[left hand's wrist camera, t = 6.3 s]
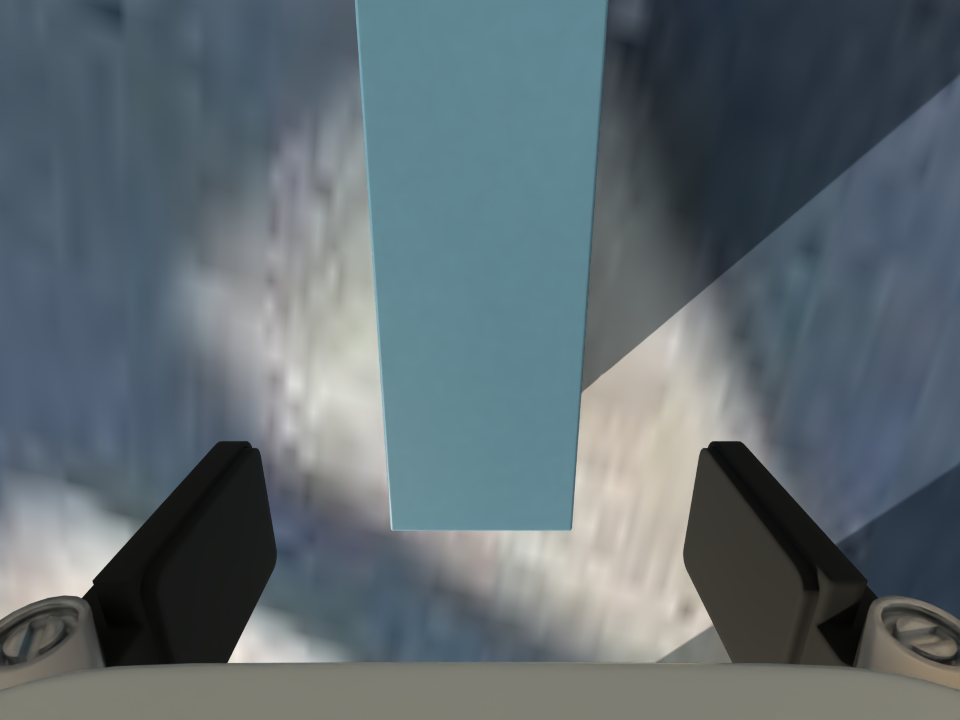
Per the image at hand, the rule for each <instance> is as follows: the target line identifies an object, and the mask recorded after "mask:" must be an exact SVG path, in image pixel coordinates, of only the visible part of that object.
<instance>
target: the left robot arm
mask: <svg viewBox="0 0 960 720" xmlns="http://www.w3.org/2000/svg"><path fill="white" fill-rule="evenodd" d="M276 558H277V550H276V544H275V538H274V532H273V526H272V520H271V514H270V508H269V502H268V496H267V490H266V484H265V478H264V472H263V466H262V461H261V455H260V452H259V450H258V449H257V448H252V446H251V444H250V443H249V442H248V441H221V442H218V443H217V444H216V445H215V446H214V447H213V448H212V449H211V450H210V451H209V452H208V454H207V455H206V456H205V457H204V458H203V459H202V460H201V461H200V462H199V464H198V465H197V466H196V467H195V468H194V469H193V470H192V471H191V472H190V474H189V475H188V476H187V477H186V478H185V479H184V480H183V481H182V482H181V483H180V485H179V486H178V487H177V488H176V489H175V490H174V491H173V492H172V493H171V495H170V496H169V497H168V498H167V499H166V500H165V501H164V502H163V503H162V504H161V506H160V507H159V508H158V509H157V510H156V511H155V512H154V513H153V514H152V516H151V517H150V518H149V519H148V520H147V521H146V522H145V523H144V524H143V525H142V527H141V528H140V529H139V530H138V531H137V532H136V533H135V534H134V535H133V537H132V538H131V539H130V540H129V541H128V542H127V543H126V544H125V545H124V546H123V548H122V549H121V550H120V551H119V552H118V553H117V554H116V555H115V556H114V558H113V559H112V560H111V561H110V562H109V563H108V564H107V565H106V566H105V567H104V569H103V570H102V571H101V572H100V573H99V574H98V575H97V576H96V577H95V579H94V580H93V584H94V585H93V586H92V587H91V589H90V590H89V591H88V592H87V593H86V594H85V595H84V596H83V597H82V598H79V597H77V596H58V597H51V598H47V599H44V600H40V601H37V602H34V603H31V604H29V605H27V606H25V607H22V608H20V609H18V610H16V611H14V612H12V613H11V614H9V615H7V616H6V617H4V618H3V619H1V620H0V720H960V620H959V619H957V618H956V617H954V616H953V615H951V614H949V613H948V612H946V611H944V610H942V609H940V608H938V607H935V606H933V605H931V604H929V603H926V602H923V601H920V600H916V599H913V598H909V597H902V596H883V597H881V598H878V597H877V596H876V595H875V594H874V593H873V592H872V591H871V590H870V589H869V587H868V586H867V585H866V584H867V580H866V579H865V577H864V576H863V575H862V574H861V573H860V572H859V571H858V570H857V569H856V567H855V566H854V565H853V564H852V563H851V562H850V561H849V560H848V559H847V558H846V556H845V555H844V554H843V553H842V552H841V551H840V550H839V549H838V548H837V546H836V545H835V544H834V543H833V542H832V541H831V540H830V539H829V538H828V537H827V535H826V534H825V533H824V532H823V531H822V530H821V529H820V528H819V527H818V525H817V524H816V523H815V522H814V521H813V520H812V519H811V518H810V517H809V516H808V514H807V513H806V512H805V511H804V510H803V509H802V508H801V507H800V506H799V504H798V503H797V502H796V501H795V500H794V499H793V498H792V497H791V496H790V495H789V493H788V492H787V491H786V490H785V489H784V488H783V487H782V486H781V485H780V483H779V482H778V481H777V480H776V479H775V478H774V477H773V476H772V475H771V474H770V472H769V471H768V470H767V469H766V468H765V467H764V466H763V465H762V464H761V462H760V461H759V460H758V459H757V458H756V457H755V456H754V455H753V454H752V452H751V451H750V450H749V449H748V448H747V447H746V446H745V445H744V444H743V443H742V442H739V441H712V442H711V443H710V444H709V446H708V448H703V449H702V450H701V452H700V455H699V461H698V466H697V472H696V478H695V484H694V490H693V496H692V502H691V508H690V514H689V520H688V526H687V532H686V538H685V544H684V550H683V558H684V564H685V567H686V570H687V572H688V574H689V576H690V578H691V580H692V582H693V584H694V586H695V588H696V590H697V592H698V594H699V596H700V598H701V600H702V602H703V604H704V606H705V608H706V610H707V612H708V614H709V616H710V618H711V620H712V622H713V624H714V626H715V628H716V630H717V632H718V634H719V636H720V638H721V640H722V642H723V644H724V646H725V648H726V650H727V652H728V655H729V657H730V659H731V661H732V663H618V662H342V663H228V661H229V659H230V657H231V655H232V652H233V650H234V648H235V646H236V644H237V642H238V640H239V638H240V636H241V634H242V632H243V630H244V628H245V626H246V624H247V622H248V620H249V618H250V616H251V614H252V612H253V610H254V608H255V606H256V604H257V602H258V600H259V598H260V596H261V594H262V592H263V590H264V588H265V586H266V584H267V582H268V580H269V578H270V576H271V574H272V572H273V570H274V567H275V564H276Z"/></svg>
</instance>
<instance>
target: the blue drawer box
mask: <svg viewBox="0 0 960 720" xmlns="http://www.w3.org/2000/svg"><path fill="white" fill-rule="evenodd" d="M608 3H609V0H355V7H356V22H357V37H358V52H359V66H360V81H361V96H362V111H363V125H364V140H365V155H366V170H367V184H368V199H369V214H370V229H371V243H372V258H373V273H374V288H375V302H376V317H377V332H378V347H379V362H380V376H381V391H382V406H383V421H384V435H385V450H386V465H387V480H388V494H389V509H390V524H391V529H392V530H438V531H570V530H571V529H572V519H573V505H574V490H575V476H576V462H577V447H578V433H579V419H580V404H581V390H582V376H583V361H584V347H585V333H586V318H587V304H588V290H589V275H590V261H591V247H592V232H593V218H594V204H595V189H596V175H597V161H598V146H599V132H600V118H601V103H602V89H603V75H604V60H605V46H606V32H607V17H608Z"/></svg>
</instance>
